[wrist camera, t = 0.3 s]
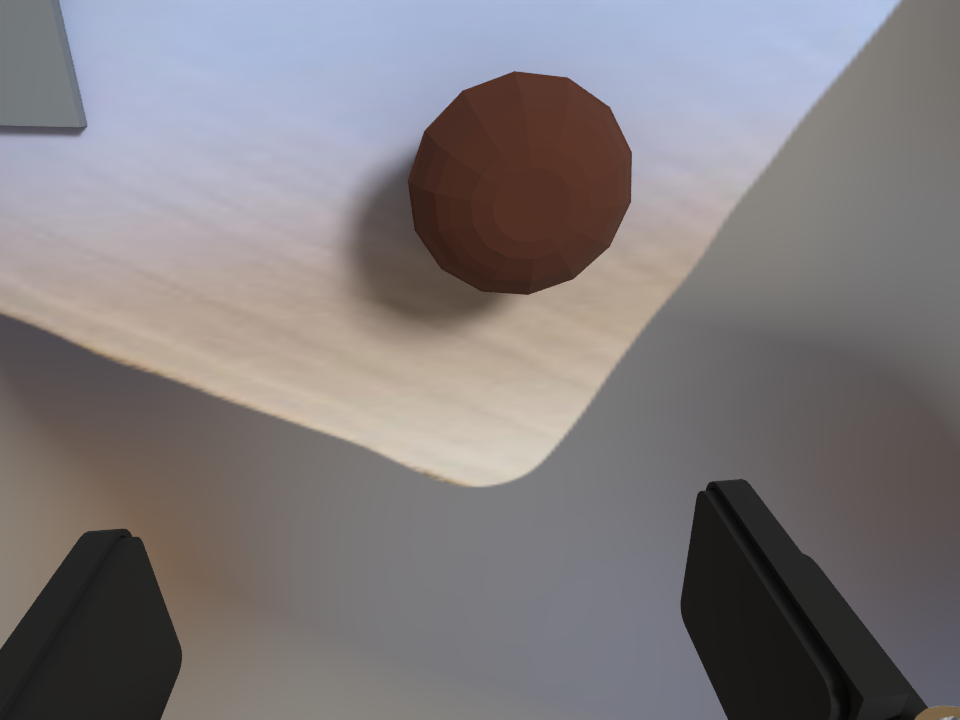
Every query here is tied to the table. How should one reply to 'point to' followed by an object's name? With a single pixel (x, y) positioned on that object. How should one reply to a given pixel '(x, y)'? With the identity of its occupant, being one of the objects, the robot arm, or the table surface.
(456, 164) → the muffin
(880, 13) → the table surface
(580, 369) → the table surface
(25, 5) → the mat
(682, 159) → the table surface
